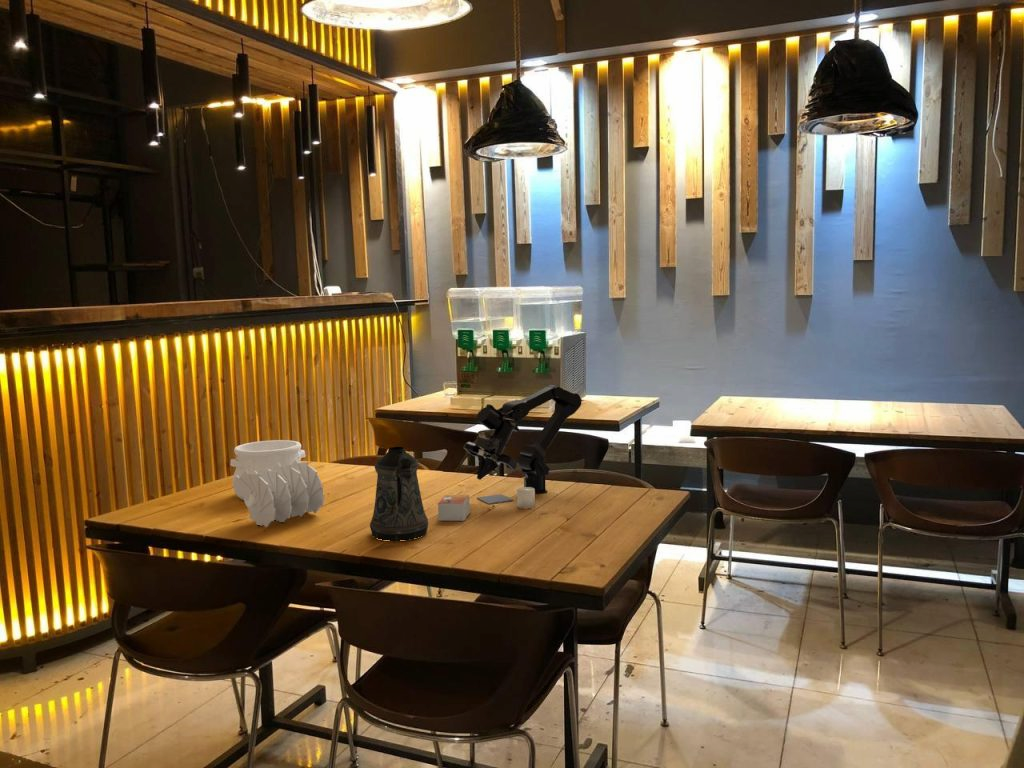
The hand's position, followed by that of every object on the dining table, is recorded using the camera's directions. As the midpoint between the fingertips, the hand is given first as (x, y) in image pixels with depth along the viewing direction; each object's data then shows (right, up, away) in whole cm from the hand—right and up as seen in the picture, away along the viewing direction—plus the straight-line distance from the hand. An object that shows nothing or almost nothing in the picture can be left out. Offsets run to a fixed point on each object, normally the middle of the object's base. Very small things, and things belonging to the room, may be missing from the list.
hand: (478, 479), depth 267 cm
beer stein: (-20, -12, -32) cm, 40 cm away
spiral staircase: (-59, -11, -13) cm, 62 cm away
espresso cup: (+15, -8, -4) cm, 18 cm away
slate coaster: (+5, -7, +5) cm, 10 cm away
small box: (-6, -6, -9) cm, 13 cm away
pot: (-73, -8, +20) cm, 76 cm away
